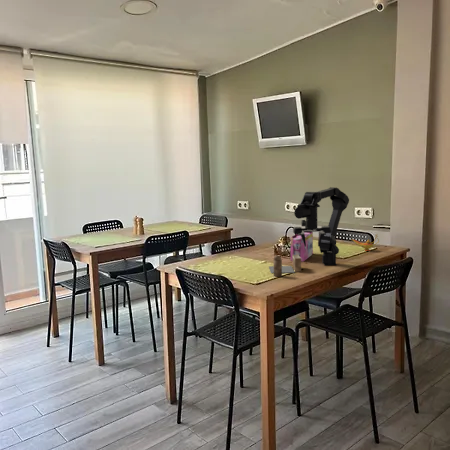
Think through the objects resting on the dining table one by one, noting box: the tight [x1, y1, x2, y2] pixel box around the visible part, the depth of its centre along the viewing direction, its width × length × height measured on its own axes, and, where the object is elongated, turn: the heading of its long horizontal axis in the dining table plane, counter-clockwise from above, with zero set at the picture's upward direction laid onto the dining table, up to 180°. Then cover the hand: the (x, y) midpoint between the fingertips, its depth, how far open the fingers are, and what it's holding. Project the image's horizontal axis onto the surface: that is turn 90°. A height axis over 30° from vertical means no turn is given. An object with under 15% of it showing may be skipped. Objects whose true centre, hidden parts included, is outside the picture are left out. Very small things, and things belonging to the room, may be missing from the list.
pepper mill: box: [273, 255, 283, 278], centre depth 222 cm, size 4×4×10 cm
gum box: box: [290, 232, 314, 262], centre depth 262 cm, size 24×8×14 cm, turn 156°
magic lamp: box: [350, 234, 380, 251], centre depth 275 cm, size 7×18×11 cm, turn 52°
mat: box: [268, 265, 296, 274], centre depth 234 cm, size 12×14×1 cm
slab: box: [292, 255, 302, 273], centre depth 234 cm, size 3×10×7 cm, turn 179°
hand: (311, 246), depth 232 cm, fingers open, 7 cm apart
